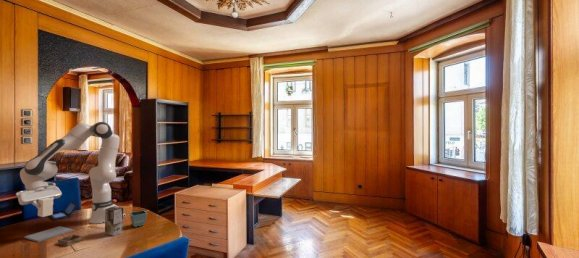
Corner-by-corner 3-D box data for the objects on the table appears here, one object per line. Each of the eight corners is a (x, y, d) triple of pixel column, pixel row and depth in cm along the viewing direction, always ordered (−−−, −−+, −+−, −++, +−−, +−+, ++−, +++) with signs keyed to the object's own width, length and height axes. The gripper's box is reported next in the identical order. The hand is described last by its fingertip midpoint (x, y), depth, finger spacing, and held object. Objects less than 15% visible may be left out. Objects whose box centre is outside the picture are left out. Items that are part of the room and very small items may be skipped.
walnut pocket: (73, 238, 157) (73, 234, 157) (82, 240, 154) (82, 236, 154) (57, 243, 149) (57, 239, 149) (66, 246, 146) (66, 242, 146)
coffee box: (123, 232, 167) (123, 207, 167) (113, 236, 161) (113, 210, 161) (114, 229, 171) (115, 205, 171) (104, 233, 165) (104, 208, 165)
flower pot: (129, 225, 179) (129, 212, 179) (143, 222, 185) (144, 210, 185) (132, 229, 173) (132, 215, 173) (146, 226, 179) (147, 213, 179)
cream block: (47, 213, 163) (48, 197, 163) (52, 214, 162) (53, 198, 162) (37, 215, 159) (38, 199, 159) (42, 216, 157) (43, 200, 157)
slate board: (59, 227, 173) (59, 226, 173) (73, 230, 168) (73, 229, 168) (24, 238, 156) (24, 236, 156) (38, 242, 151) (38, 240, 151)
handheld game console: (48, 216, 194) (48, 204, 194) (71, 212, 204) (71, 200, 204) (54, 221, 184) (54, 208, 184) (77, 216, 195) (77, 204, 195)
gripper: (16, 188, 153) (26, 207, 150) (57, 182, 172) (66, 198, 169) (12, 195, 154) (21, 213, 151) (53, 188, 174) (62, 204, 170)
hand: (45, 205), depth 160 cm, fingers closed on cream block, 5 cm apart
